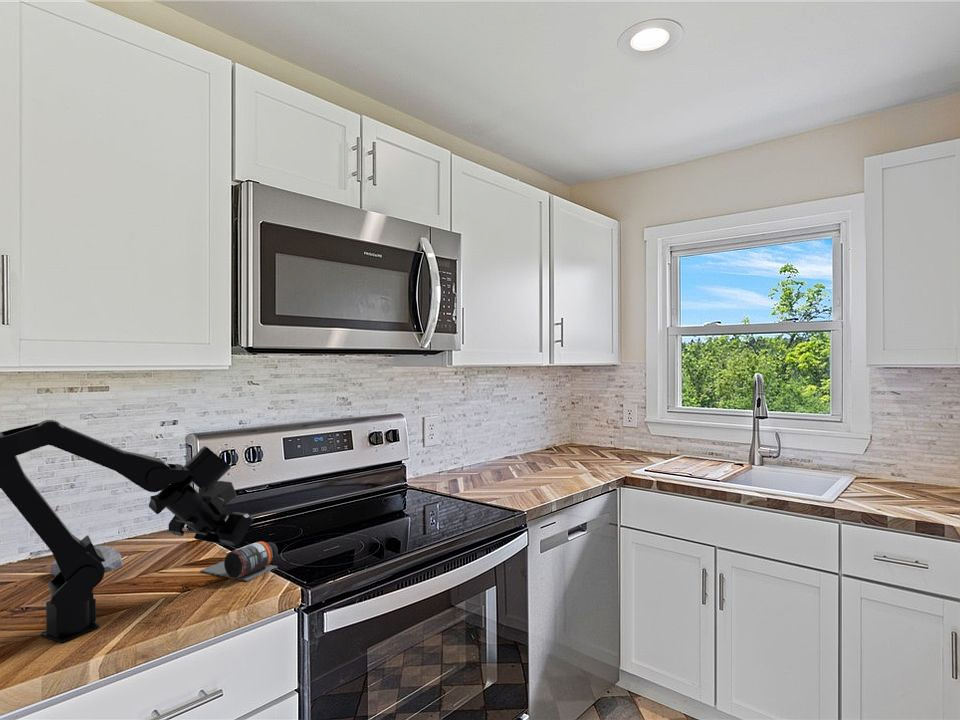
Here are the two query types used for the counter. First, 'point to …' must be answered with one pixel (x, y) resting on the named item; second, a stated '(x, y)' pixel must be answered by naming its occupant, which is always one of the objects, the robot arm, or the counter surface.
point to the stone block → (109, 564)
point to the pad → (220, 570)
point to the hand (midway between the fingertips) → (232, 544)
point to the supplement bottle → (249, 558)
